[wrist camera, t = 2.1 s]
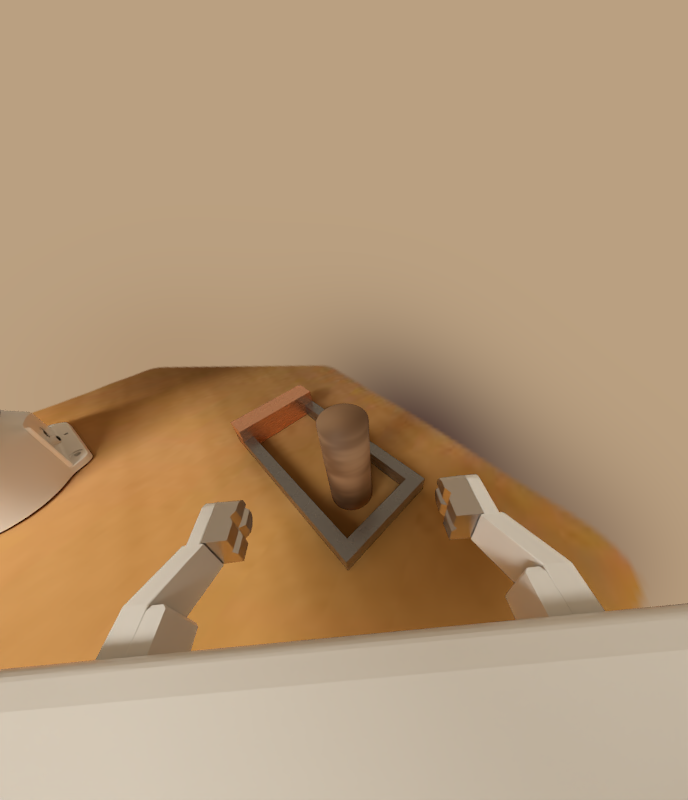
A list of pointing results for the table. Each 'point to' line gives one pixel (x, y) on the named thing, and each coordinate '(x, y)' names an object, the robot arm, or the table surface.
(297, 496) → the guide track
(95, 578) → the table surface
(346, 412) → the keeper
